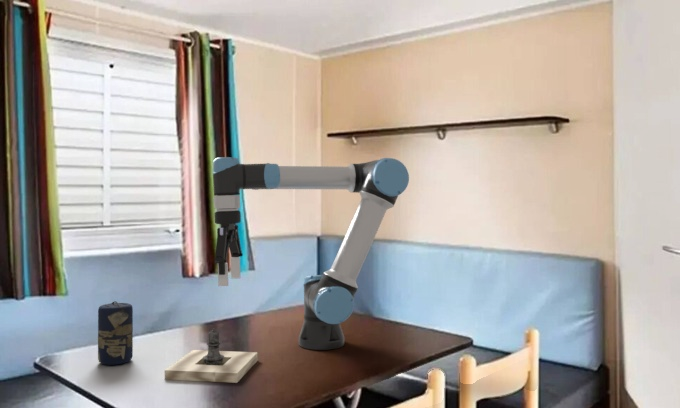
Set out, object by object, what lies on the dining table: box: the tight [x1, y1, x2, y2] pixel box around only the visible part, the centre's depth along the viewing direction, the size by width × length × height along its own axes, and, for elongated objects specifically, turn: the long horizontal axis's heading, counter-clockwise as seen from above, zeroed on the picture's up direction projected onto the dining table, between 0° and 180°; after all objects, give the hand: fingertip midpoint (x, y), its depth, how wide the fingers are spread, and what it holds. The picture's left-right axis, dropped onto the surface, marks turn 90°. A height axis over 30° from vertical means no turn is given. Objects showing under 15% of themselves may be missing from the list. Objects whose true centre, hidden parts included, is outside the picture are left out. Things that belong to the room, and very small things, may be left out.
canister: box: [97, 300, 134, 366], centre depth 168 cm, size 10×10×18 cm
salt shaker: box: [203, 327, 224, 365], centre depth 161 cm, size 6×6×12 cm
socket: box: [164, 349, 258, 384], centre depth 161 cm, size 20×20×2 cm
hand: (229, 282), depth 168 cm, fingers open, 13 cm apart
